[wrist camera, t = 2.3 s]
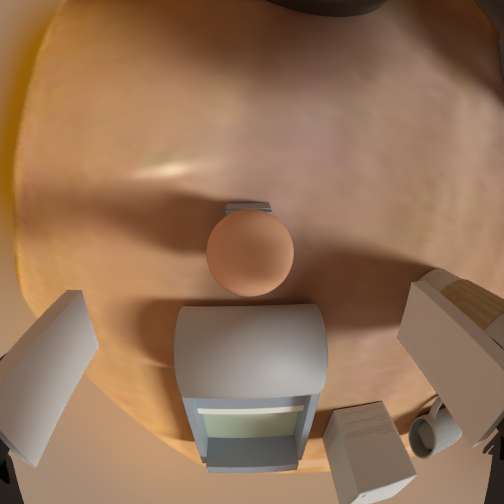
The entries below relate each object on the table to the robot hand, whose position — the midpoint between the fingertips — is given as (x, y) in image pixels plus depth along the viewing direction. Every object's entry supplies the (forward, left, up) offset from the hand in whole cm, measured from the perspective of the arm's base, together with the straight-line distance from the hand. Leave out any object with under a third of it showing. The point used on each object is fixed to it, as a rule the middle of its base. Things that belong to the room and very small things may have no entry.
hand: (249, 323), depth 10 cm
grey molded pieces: (+13, 0, -14) cm, 19 cm away
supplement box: (+26, +14, -12) cm, 31 cm away
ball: (0, 0, -7) cm, 7 cm away
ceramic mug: (+30, +30, -12) cm, 44 cm away
